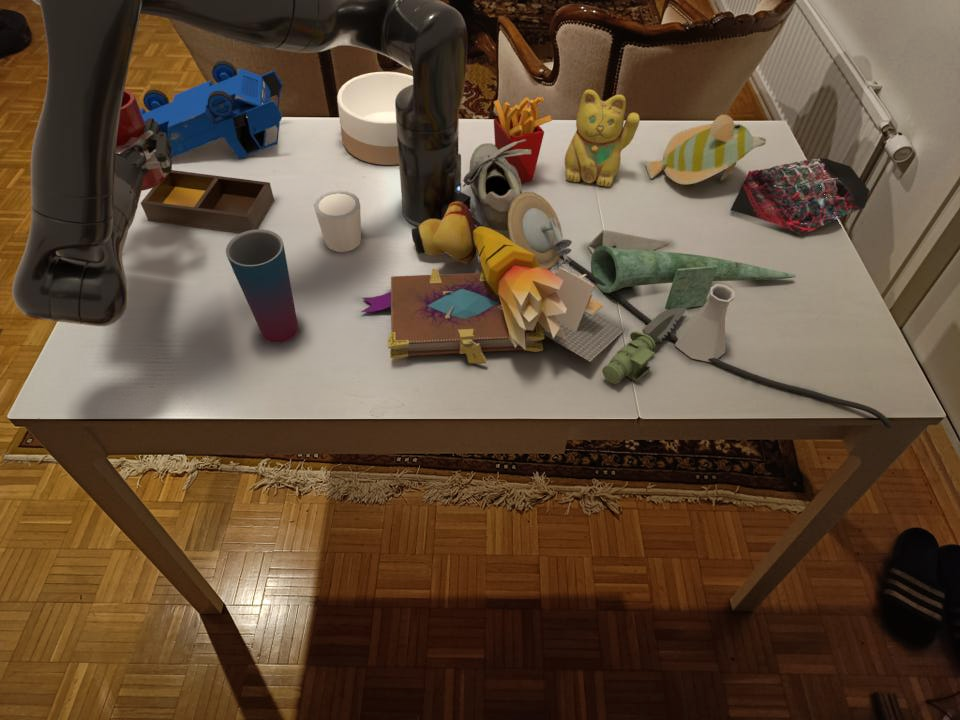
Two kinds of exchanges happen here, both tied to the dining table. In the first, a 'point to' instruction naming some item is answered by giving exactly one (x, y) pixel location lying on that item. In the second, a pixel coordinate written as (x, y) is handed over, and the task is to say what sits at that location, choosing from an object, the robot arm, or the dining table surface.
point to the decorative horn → (671, 273)
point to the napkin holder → (581, 318)
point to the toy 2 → (537, 229)
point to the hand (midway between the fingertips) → (126, 125)
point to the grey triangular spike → (624, 241)
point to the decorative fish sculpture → (705, 151)
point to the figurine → (599, 139)
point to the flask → (706, 327)
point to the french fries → (520, 134)
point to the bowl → (371, 115)
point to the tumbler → (135, 134)
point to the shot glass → (339, 220)
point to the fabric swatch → (801, 194)
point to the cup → (265, 282)
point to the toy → (448, 234)
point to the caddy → (208, 201)
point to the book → (447, 317)
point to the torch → (519, 285)
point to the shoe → (495, 183)
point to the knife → (641, 348)
